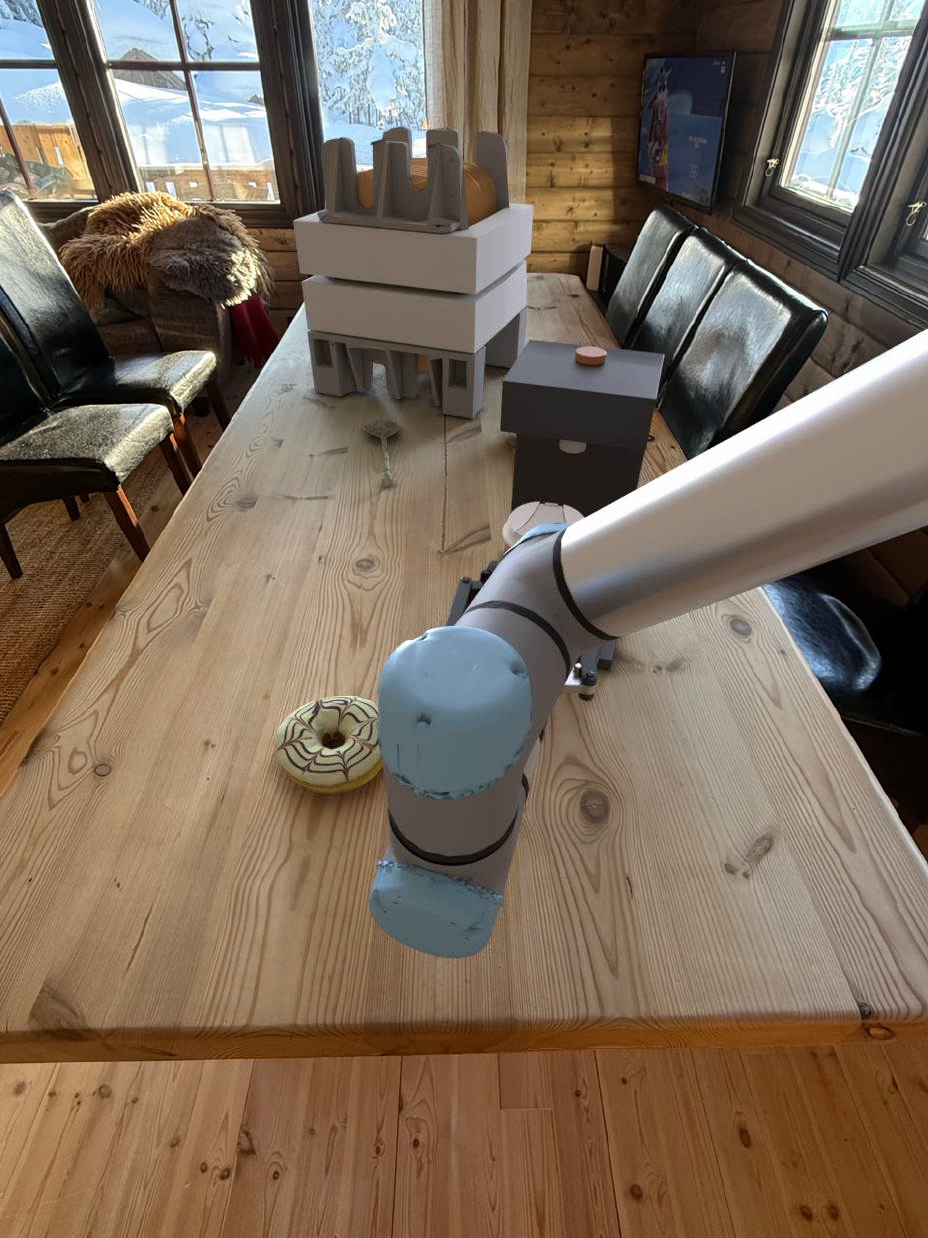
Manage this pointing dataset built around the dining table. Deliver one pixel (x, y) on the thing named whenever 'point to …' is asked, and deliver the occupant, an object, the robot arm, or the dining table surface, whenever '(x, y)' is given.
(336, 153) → the transformer
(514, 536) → the paper cup
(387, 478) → the soupspoon
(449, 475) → the dining table surface
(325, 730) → the decorated donut
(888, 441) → the robot arm
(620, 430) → the coffee maker
